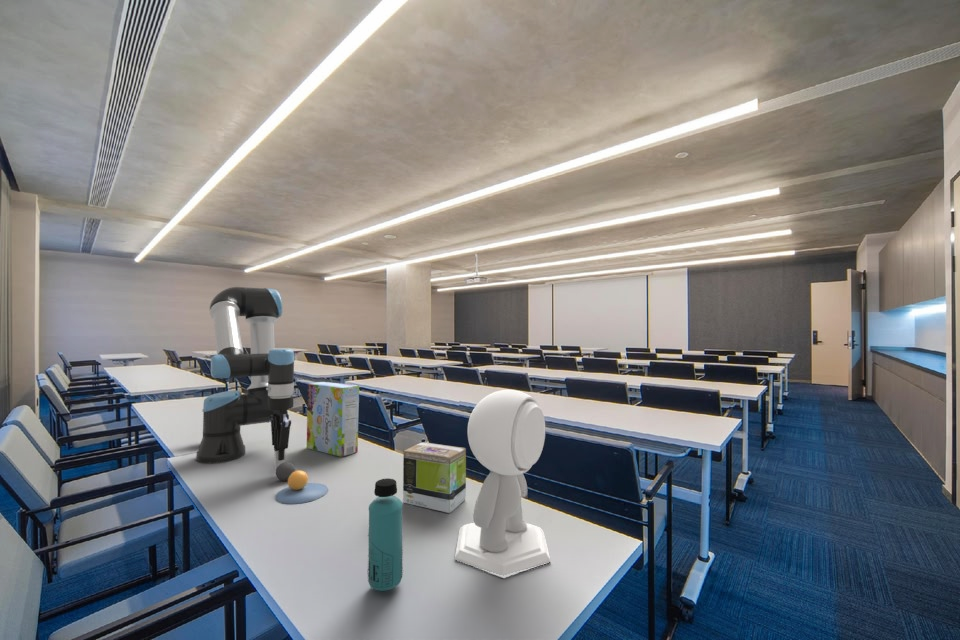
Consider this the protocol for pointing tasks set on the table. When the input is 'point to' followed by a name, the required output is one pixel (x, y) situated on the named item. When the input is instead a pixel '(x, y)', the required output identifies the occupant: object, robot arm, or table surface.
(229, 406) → the robot arm
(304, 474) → the object ball
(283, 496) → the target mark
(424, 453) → the tea box
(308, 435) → the snack box
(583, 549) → the table surface
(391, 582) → the beverage bottle
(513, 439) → the white cartoon figure
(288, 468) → the dark gray ball
